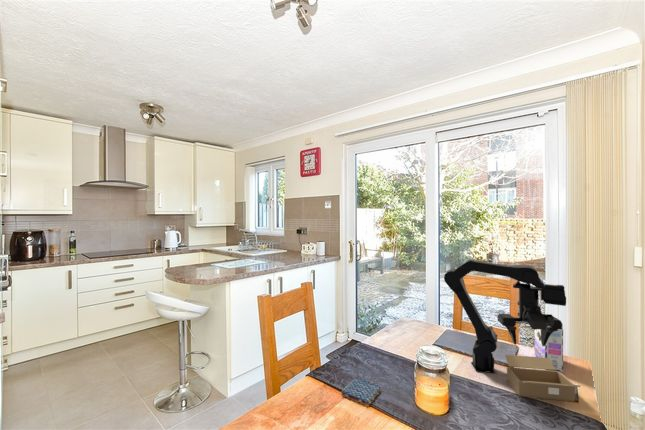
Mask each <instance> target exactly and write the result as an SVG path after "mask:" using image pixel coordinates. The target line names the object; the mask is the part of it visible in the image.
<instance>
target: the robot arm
mask: <svg viewBox="0 0 645 430" xmlns="http://www.w3.org/2000/svg"><path fill="white" fill-rule="evenodd" d="M471 272H478V273H485V274H491V275H494V276H495V275H496V276H502V277H507V278H510V279H513V280H515V281H516V282H515V283H513V284H512V288H514V289H518V301H517V306H518V312H517V317H514V316H513V315H512V314H510V313H498V315H497V317H496V318H497V322H499V323H500V325H502V326H503V327H505V328H506V329H507V332H508V334H509V336H510V338H511V341H512V343H513V344H514V345H515V346H516V345H517V332H516V330H517V329H518V328H517V327H516V325H517V324H525V325H526V324H528V325H529V328H530V329H532V330H534V331H535V330H537V329H541V343H542V346H545V345H546V343H547V341H548V338H549V336H550V335H551V333H553V332H555V331H558V329H563V330H564V328H563V327H564V326H563V322H562V320H560V319H559V318H556V317H555V316H553V314H548V313H547V314H545V313H543V312H542V309H541V306H539V296H540V301H542V302H544V304H545V305H546V304H547V305H552V306H553V305H554V306H561V307H562V306H563V307H566V305H567V296H566V290H565V286H564V284H549V283H548V284H547V283H544V281H543V280H542V279H541V278H540V277H539V273H538V270H537V269H536V268H535V267H534V266H533V265H530V264H529V265H528V264H526V265H525V264H517V265H516V264H514V265H513V264H512V265H506V264H499V263H493V262H488V261H481V260H475V259H472V258H471V259H468V260H467V261H466V262H464V263H463V264H461V265H459V266H458V267H457V268H451V269H449V270H448V271H447V272H446V273H444V276H443V279H444V282H445V284H446V285H447V286H448V287H449V289H450V290H452V292H453V293H454V294H455V295H456V297H457V299H458V300H459V302H460V304H461V306H462V308H463V310H464V311H465V313H466V315H467V316H468V319H469V320H470V322H471V325H472V327H473V329H474V331H475V336H476V340H475V341H474V344H473V347H472V361H470V364H471V365H472V367H473V369H474V370H475V371H476V372H480V373H491V374H492V373H493V374H494V373H495V372H496V371H495V358H494V355H493V352H495V351H496V350H497V348H498V334H497V333H496V332H495V330H494V327H493V325H491V326H488V325H487V324H486V323H485V322H484V320H483V318H482V316H481V314H480V313H479V312H480V311H478V308H477V306H476V305H475V303H474V301H473V300H472V298H471V296H470V294H469V291H467V287H466V284H465V281H464V280H465V279H464V278H465V276H467V275H469V273H471ZM539 292H540V293H539Z"/></svg>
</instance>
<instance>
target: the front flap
mask: <svg viewBox="0 0 645 430" xmlns="http://www.w3.org/2000/svg"><path fill="white" fill-rule="evenodd" d="M522 382H523V383H531V384H542V385H553V386H564V387H575V388H581V385H578V384H574V385H570V384H558V383H547V382H536V381H522Z"/></svg>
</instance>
